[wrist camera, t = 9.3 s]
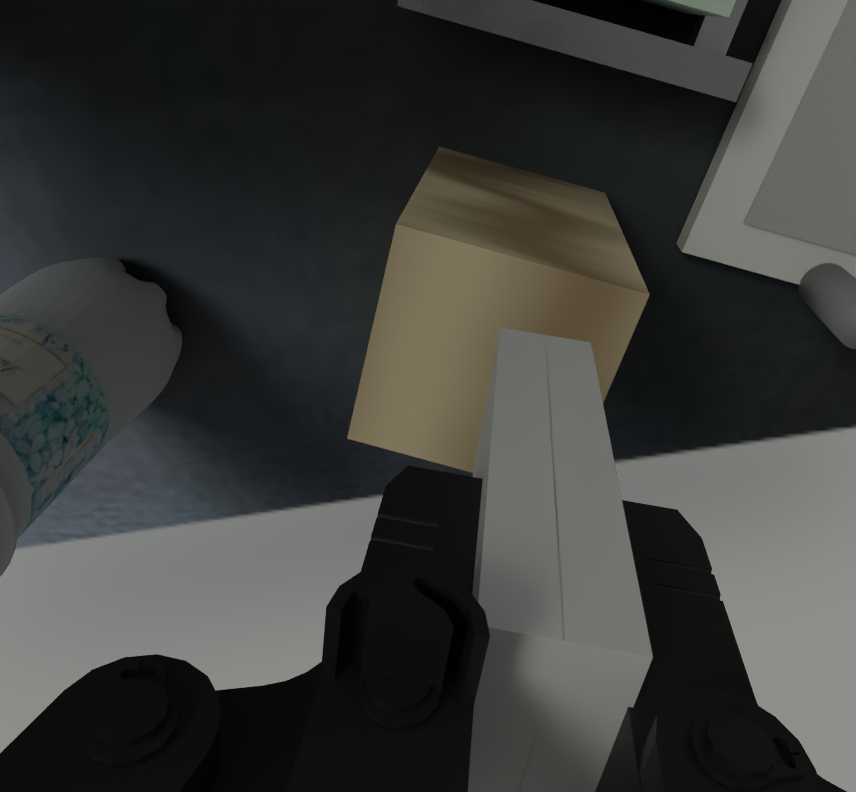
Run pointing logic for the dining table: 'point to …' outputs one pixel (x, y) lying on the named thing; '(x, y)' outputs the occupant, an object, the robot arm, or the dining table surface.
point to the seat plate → (791, 165)
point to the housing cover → (698, 6)
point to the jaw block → (486, 298)
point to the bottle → (72, 377)
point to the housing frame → (610, 40)
